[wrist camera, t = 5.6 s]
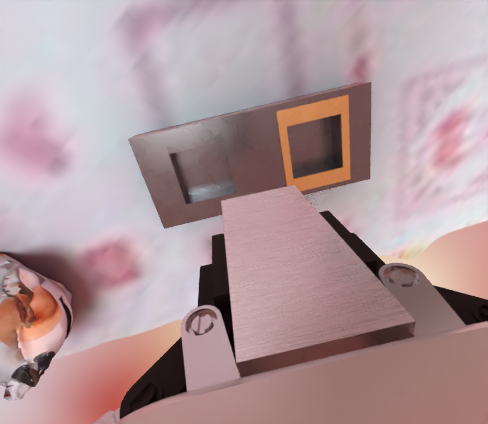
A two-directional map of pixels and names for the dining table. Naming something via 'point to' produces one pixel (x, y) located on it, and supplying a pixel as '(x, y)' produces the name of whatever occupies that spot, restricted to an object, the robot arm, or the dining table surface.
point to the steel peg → (300, 286)
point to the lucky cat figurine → (29, 325)
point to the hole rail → (257, 152)
